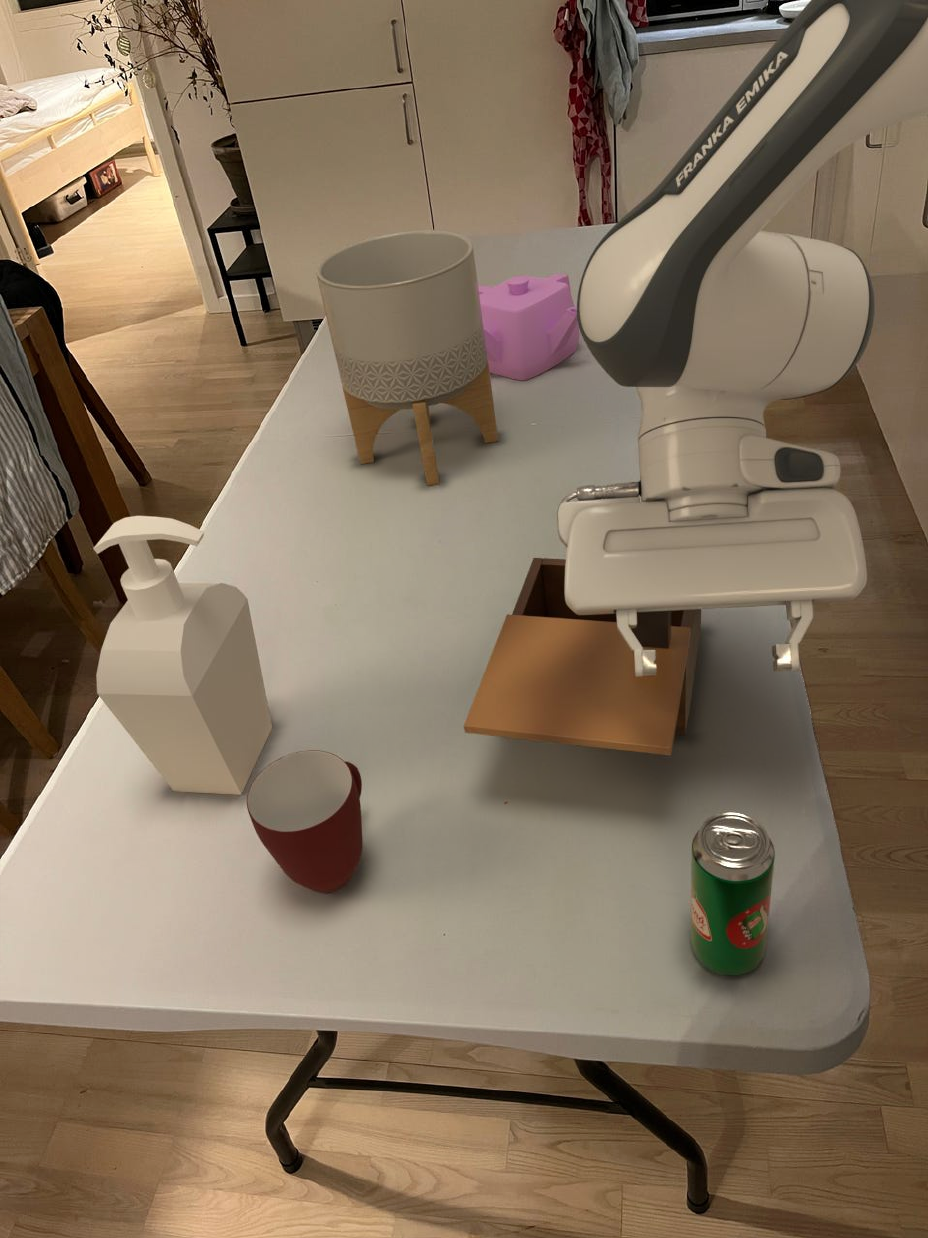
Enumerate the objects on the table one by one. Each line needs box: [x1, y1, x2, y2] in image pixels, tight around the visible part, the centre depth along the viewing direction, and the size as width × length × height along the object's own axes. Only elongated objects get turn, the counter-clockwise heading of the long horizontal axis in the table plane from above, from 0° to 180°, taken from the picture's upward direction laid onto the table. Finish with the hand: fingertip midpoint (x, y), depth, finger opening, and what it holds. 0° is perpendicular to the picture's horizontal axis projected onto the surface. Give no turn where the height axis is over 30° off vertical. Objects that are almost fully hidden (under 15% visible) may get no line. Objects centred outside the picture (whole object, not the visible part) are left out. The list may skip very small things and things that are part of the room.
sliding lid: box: [463, 611, 691, 756], centre depth 77 cm, size 16×14×6 cm
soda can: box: [690, 811, 776, 976], centre depth 64 cm, size 5×5×12 cm
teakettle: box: [478, 272, 580, 382], centre depth 145 cm, size 17×17×12 cm
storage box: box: [511, 557, 702, 736], centre depth 89 cm, size 16×14×8 cm
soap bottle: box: [92, 515, 273, 796], centre depth 81 cm, size 12×10×26 cm
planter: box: [315, 229, 499, 487], centre depth 122 cm, size 19×19×26 cm
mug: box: [246, 749, 363, 894], centre depth 75 cm, size 11×8×10 cm
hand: (715, 673), depth 67 cm, fingers open, 8 cm apart
